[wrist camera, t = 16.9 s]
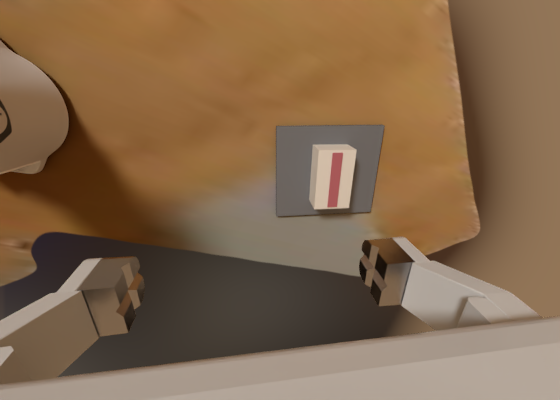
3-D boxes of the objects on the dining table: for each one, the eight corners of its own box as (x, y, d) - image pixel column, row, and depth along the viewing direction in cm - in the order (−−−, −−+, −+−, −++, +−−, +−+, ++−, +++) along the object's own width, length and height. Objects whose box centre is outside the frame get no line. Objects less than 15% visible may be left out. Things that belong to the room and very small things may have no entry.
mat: (276, 214, 50) (276, 216, 49) (276, 126, 43) (276, 126, 43) (368, 209, 52) (370, 211, 51) (382, 124, 45) (384, 125, 45)
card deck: (312, 144, 44) (319, 150, 41) (347, 144, 45) (357, 150, 41) (309, 199, 49) (314, 209, 45) (341, 198, 49) (349, 208, 45)
